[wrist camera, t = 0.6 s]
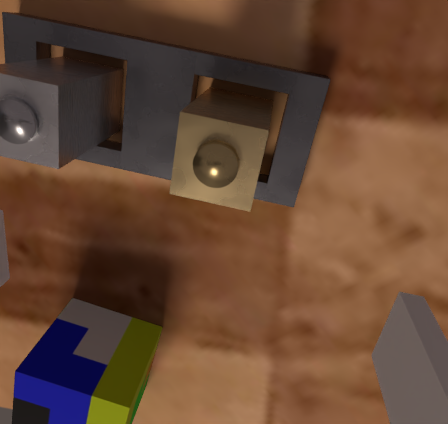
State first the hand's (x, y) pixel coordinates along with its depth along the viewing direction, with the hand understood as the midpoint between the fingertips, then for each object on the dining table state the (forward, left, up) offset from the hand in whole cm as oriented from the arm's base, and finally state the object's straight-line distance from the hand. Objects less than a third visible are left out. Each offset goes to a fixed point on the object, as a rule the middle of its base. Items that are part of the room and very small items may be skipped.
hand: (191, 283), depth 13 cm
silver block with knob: (-13, +1, -21) cm, 25 cm away
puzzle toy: (-10, -26, -21) cm, 35 cm away
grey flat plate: (-7, +1, -21) cm, 22 cm away
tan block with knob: (-1, +1, -21) cm, 21 cm away
